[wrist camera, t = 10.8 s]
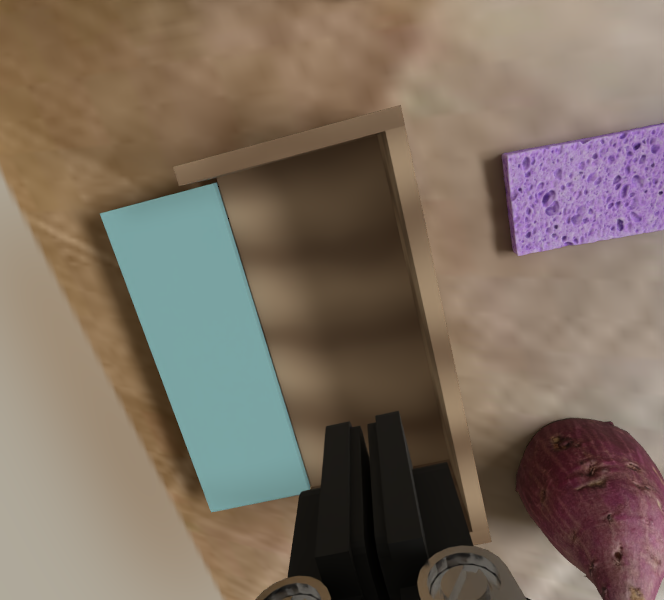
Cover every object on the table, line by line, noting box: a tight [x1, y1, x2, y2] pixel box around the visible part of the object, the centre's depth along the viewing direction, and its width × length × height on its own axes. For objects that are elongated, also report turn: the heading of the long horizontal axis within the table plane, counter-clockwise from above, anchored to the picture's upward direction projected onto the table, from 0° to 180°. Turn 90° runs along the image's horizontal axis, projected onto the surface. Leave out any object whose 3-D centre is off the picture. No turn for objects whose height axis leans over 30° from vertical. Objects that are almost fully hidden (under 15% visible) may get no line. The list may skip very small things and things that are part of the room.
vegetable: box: [516, 418, 664, 600], centre depth 37 cm, size 10×10×15 cm
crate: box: [173, 105, 491, 545], centre depth 35 cm, size 27×12×10 cm, turn 14°
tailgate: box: [100, 183, 310, 512], centre depth 38 cm, size 24×1×8 cm
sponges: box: [502, 123, 664, 256], centre depth 36 cm, size 7×13×2 cm, turn 101°
